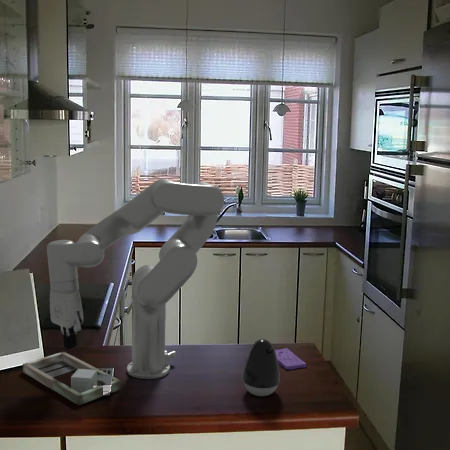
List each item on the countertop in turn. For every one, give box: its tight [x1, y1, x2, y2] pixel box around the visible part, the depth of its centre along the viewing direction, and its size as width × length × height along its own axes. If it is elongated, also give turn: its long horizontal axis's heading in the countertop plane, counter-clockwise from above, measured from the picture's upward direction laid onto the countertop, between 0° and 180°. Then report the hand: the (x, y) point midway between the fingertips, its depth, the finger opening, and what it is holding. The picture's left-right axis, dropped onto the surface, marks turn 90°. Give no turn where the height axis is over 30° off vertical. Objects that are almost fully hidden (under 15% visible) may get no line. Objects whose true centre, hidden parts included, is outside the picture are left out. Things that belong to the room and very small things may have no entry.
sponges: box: [274, 347, 307, 371], centre depth 181 cm, size 7×13×2 cm, turn 22°
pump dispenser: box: [242, 338, 281, 397], centre depth 158 cm, size 10×10×15 cm
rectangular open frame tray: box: [22, 351, 122, 406], centre depth 162 cm, size 13×28×2 cm, turn 48°
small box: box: [70, 369, 97, 393], centre depth 156 cm, size 6×6×5 cm
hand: (70, 347), depth 163 cm, fingers closed
